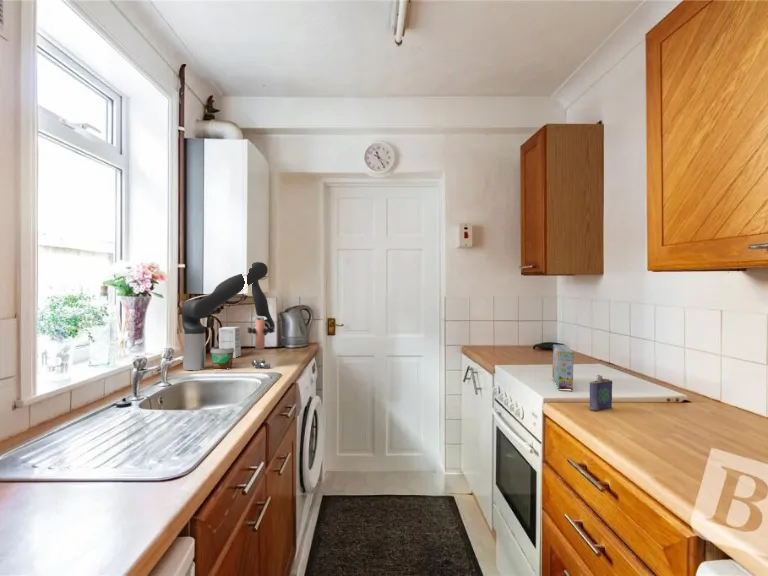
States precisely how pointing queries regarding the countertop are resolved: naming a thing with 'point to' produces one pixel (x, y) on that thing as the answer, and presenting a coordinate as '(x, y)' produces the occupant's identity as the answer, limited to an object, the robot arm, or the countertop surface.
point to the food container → (222, 358)
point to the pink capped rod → (259, 333)
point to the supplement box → (230, 339)
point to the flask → (600, 394)
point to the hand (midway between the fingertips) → (259, 331)
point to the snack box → (563, 366)
